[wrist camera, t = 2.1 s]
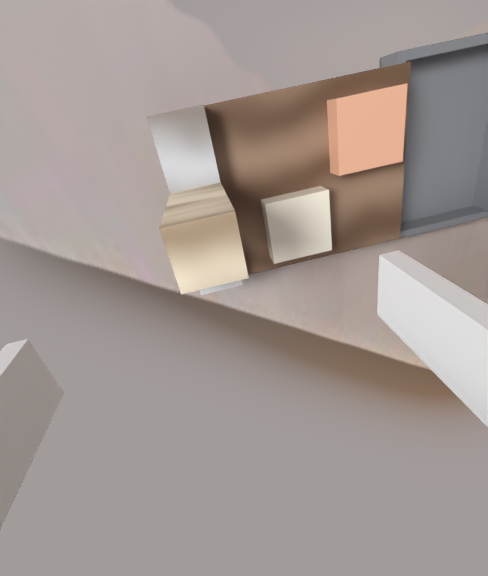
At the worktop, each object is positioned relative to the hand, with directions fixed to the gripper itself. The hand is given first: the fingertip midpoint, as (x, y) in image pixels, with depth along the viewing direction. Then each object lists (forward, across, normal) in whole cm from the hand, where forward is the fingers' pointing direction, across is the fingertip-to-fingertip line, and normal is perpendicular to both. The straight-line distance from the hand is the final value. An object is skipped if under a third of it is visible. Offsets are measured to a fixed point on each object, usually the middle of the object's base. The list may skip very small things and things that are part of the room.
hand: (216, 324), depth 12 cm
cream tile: (+20, -9, +4) cm, 22 cm away
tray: (+25, -27, 0) cm, 36 cm away
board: (+25, -9, 0) cm, 26 cm away
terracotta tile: (+20, -16, -3) cm, 25 cm away
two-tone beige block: (+20, 0, 0) cm, 20 cm away
